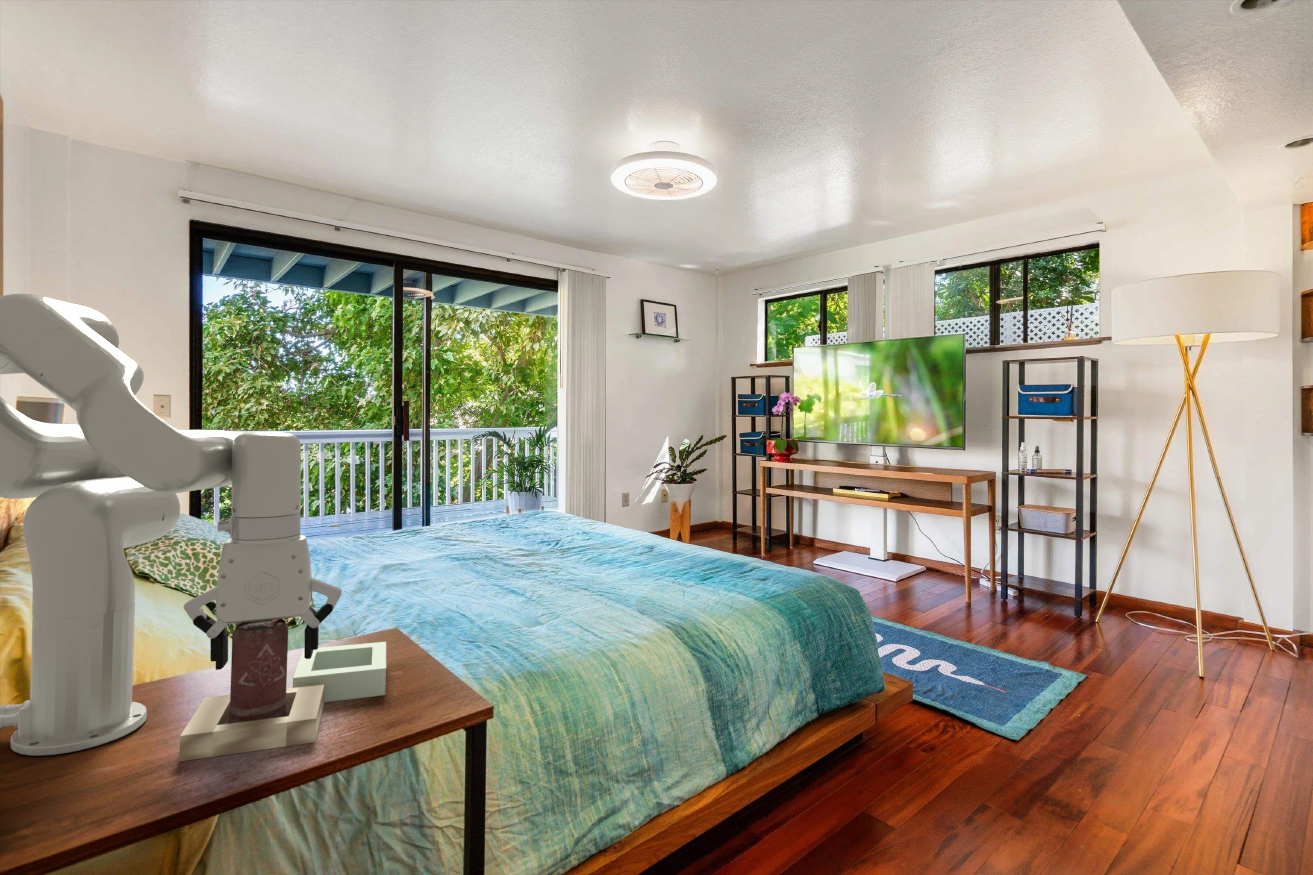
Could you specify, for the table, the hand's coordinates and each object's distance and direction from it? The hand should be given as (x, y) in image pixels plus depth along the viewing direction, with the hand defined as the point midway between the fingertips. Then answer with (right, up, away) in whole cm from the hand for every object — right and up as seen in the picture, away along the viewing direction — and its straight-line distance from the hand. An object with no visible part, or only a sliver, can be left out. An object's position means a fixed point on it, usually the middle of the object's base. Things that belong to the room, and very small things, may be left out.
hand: (266, 660), depth 81 cm
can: (-1, -9, 0) cm, 9 cm away
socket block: (-1, -9, 0) cm, 9 cm away
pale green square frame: (+2, -9, +15) cm, 18 cm away
